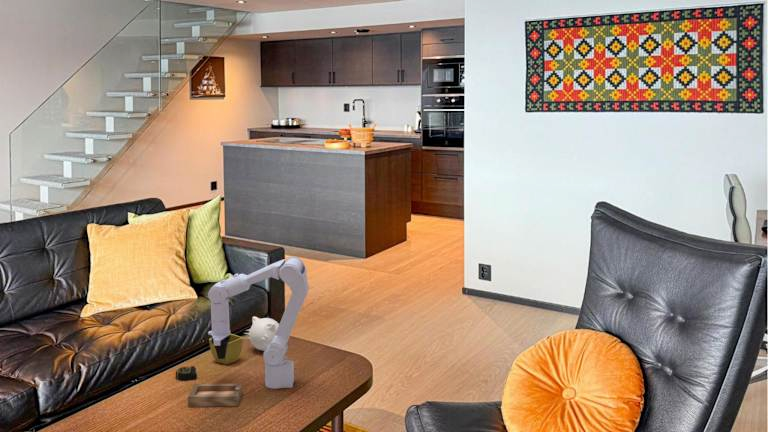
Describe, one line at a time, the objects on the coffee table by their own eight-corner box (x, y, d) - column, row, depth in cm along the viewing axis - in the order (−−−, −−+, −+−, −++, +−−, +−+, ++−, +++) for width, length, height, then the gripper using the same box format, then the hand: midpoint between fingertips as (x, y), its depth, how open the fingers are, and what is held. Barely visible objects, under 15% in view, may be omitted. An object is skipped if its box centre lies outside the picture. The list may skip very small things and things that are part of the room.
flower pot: (227, 354, 249) (227, 331, 247) (244, 360, 244) (243, 337, 242) (209, 362, 242) (208, 338, 240) (225, 368, 237) (224, 344, 235)
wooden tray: (242, 392, 216) (241, 381, 216) (237, 405, 208) (237, 394, 207) (194, 393, 216) (194, 382, 215) (188, 406, 207) (187, 395, 206)
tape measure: (197, 383, 226) (197, 372, 225) (176, 385, 224) (175, 374, 223) (196, 374, 232) (196, 364, 232) (175, 377, 230) (175, 366, 230)
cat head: (293, 349, 255) (292, 318, 253) (267, 360, 245) (266, 328, 243) (266, 339, 264) (265, 310, 262) (240, 349, 254) (239, 318, 252)
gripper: (212, 311, 227) (213, 349, 230) (203, 327, 213) (204, 367, 215) (233, 311, 227) (234, 349, 230) (225, 326, 213) (227, 367, 216)
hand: (221, 358), depth 223 cm, fingers closed
